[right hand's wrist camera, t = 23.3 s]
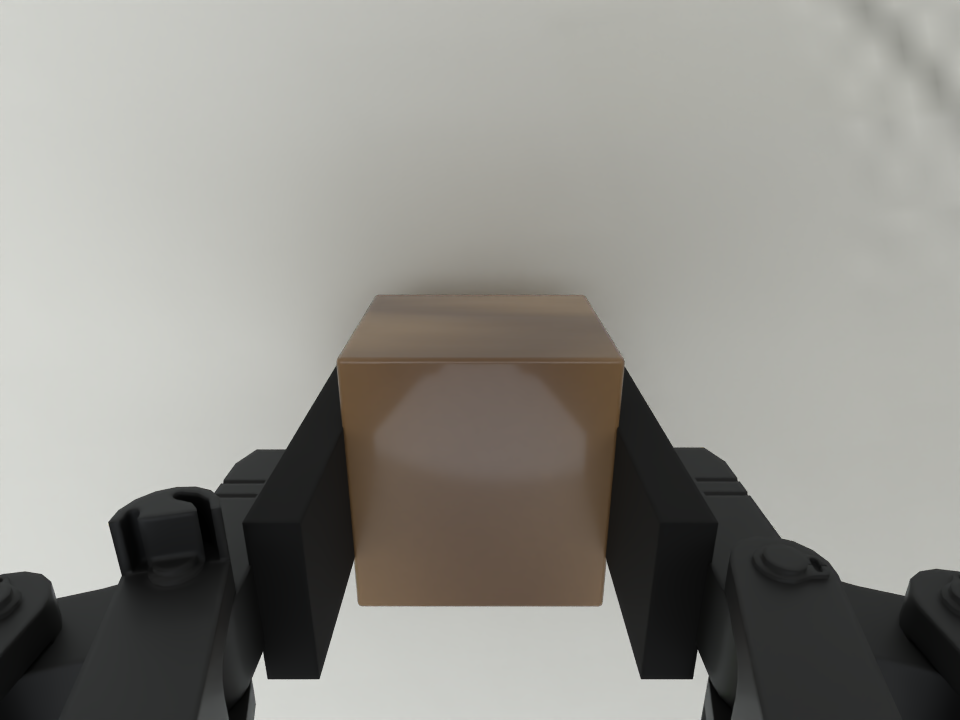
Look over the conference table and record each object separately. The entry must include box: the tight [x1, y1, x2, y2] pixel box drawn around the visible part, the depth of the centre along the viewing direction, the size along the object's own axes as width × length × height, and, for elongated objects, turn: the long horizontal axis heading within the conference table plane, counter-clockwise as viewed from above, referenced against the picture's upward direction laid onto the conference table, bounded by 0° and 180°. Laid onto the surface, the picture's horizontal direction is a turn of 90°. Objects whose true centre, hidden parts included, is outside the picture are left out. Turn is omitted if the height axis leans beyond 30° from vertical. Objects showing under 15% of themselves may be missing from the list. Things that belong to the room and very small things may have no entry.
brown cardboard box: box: [336, 295, 625, 606], centre depth 13 cm, size 5×5×4 cm
